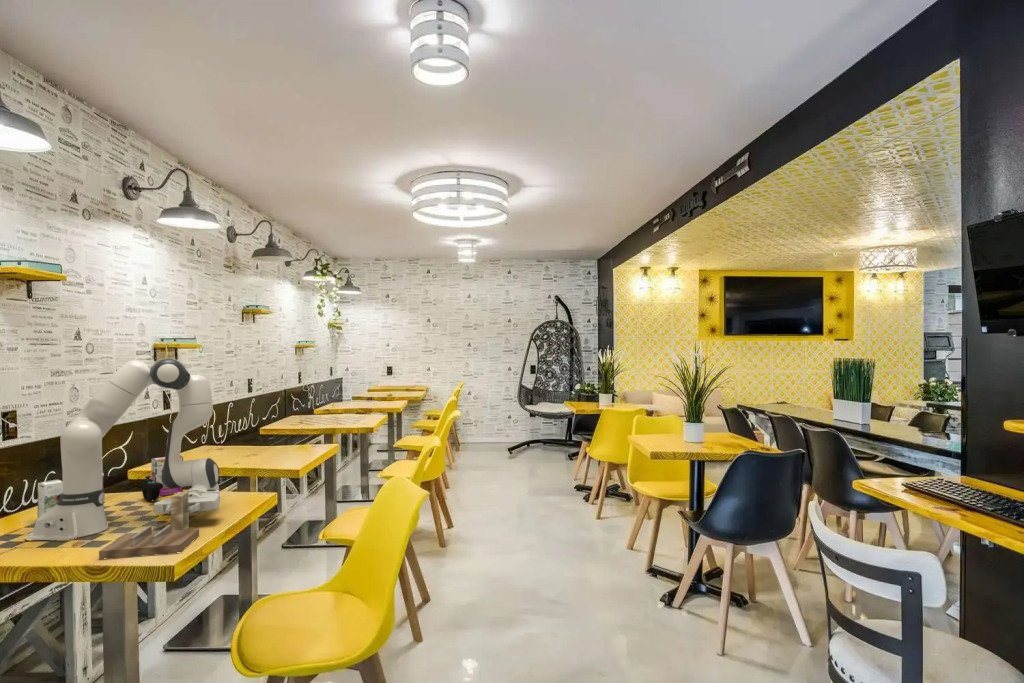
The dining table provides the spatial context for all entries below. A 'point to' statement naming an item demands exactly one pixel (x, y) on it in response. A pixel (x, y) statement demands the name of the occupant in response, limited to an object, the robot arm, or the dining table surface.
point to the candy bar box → (157, 473)
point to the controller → (151, 489)
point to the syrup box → (48, 495)
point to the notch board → (150, 543)
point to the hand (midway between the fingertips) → (178, 510)
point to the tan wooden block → (180, 511)
